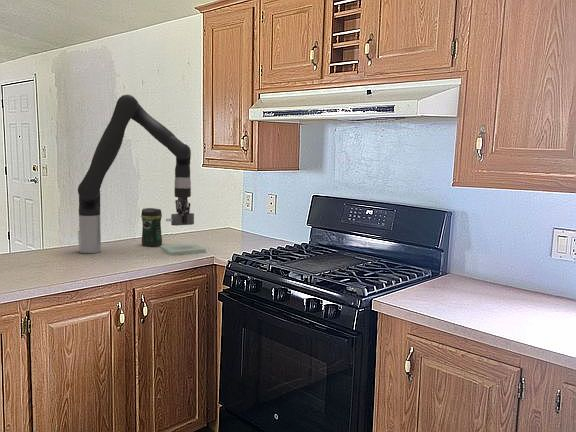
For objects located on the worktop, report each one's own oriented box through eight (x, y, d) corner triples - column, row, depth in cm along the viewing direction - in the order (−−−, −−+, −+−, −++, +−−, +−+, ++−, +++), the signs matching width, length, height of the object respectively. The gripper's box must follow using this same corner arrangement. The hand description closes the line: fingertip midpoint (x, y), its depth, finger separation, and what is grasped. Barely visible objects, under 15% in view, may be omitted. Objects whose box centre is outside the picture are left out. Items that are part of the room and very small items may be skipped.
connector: (168, 226, 242) (168, 215, 242) (165, 224, 246) (164, 214, 245) (195, 224, 249) (195, 213, 249) (192, 223, 253) (192, 212, 252)
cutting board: (171, 255, 239) (171, 252, 239) (159, 249, 252) (159, 245, 252) (205, 252, 248) (205, 249, 247) (193, 246, 261) (193, 243, 261)
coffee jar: (164, 244, 263) (164, 208, 260) (154, 247, 256) (154, 209, 253) (149, 242, 267) (148, 206, 264) (138, 245, 259) (138, 208, 257)
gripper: (169, 185, 250) (170, 221, 252) (180, 188, 238) (180, 225, 240) (184, 185, 254) (184, 220, 256) (195, 187, 242) (195, 224, 244)
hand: (182, 222), depth 248 cm, fingers closed on connector, 4 cm apart
